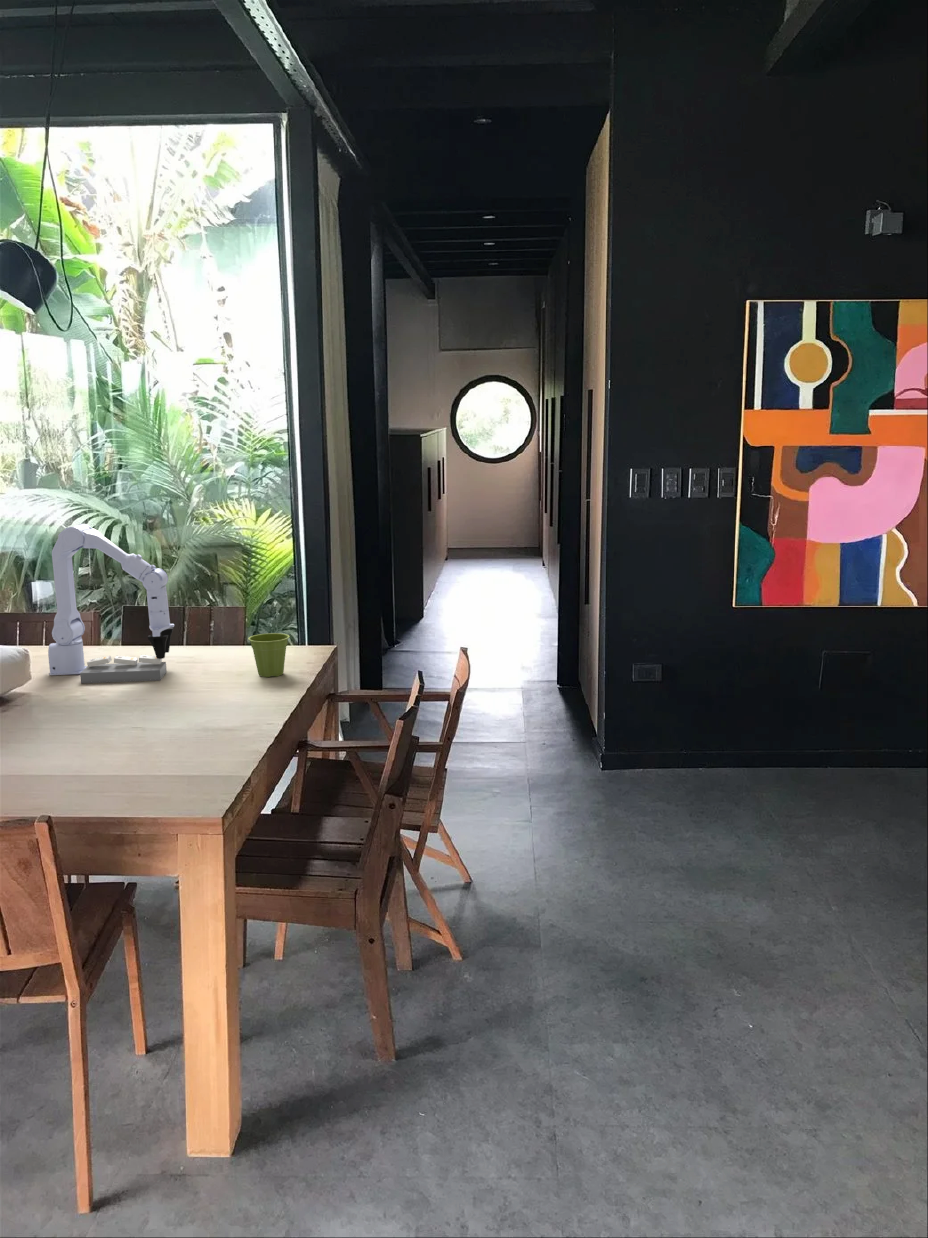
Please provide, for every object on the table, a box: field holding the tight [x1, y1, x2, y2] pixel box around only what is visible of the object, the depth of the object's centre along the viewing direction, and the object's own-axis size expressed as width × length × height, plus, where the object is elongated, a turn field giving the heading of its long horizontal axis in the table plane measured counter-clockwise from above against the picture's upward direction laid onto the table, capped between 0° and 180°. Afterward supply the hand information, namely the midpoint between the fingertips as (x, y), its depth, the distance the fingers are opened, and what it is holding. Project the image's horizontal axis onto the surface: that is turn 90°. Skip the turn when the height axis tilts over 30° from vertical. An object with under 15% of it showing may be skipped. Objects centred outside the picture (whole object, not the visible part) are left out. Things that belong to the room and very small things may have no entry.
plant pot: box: [248, 632, 291, 678], centre depth 284 cm, size 12×12×11 cm
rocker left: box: [86, 655, 112, 667], centre depth 283 cm, size 6×4×2 cm, turn 97°
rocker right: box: [138, 654, 163, 664], centre depth 284 cm, size 6×4×2 cm, turn 97°
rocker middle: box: [113, 655, 139, 665], centre depth 284 cm, size 6×4×2 cm, turn 98°
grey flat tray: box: [79, 661, 168, 684], centre depth 282 cm, size 22×10×3 cm, turn 97°
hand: (163, 655), depth 288 cm, fingers open, 7 cm apart
